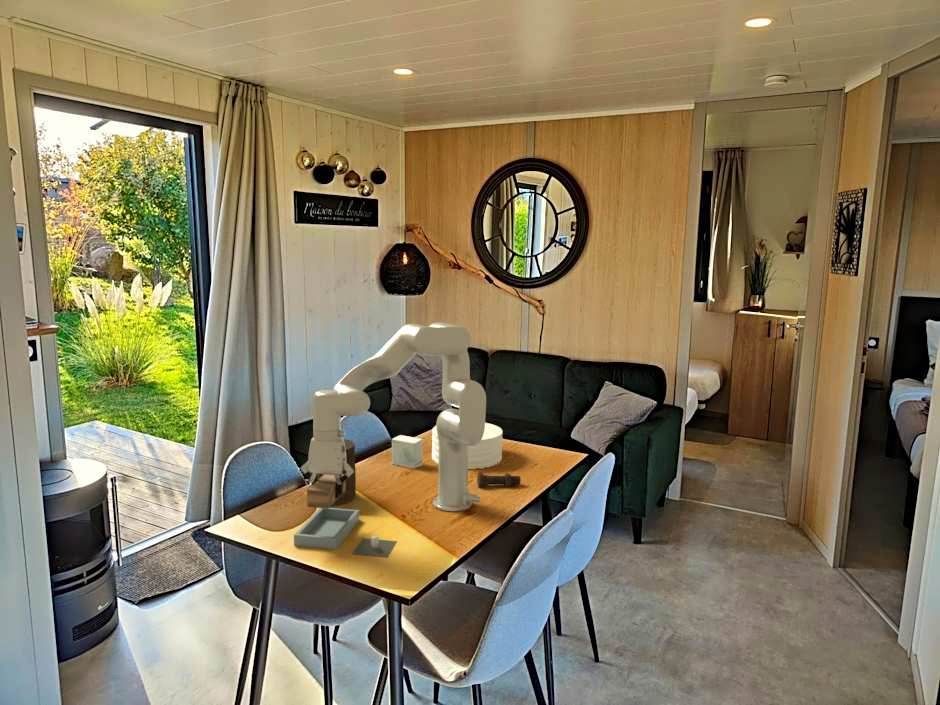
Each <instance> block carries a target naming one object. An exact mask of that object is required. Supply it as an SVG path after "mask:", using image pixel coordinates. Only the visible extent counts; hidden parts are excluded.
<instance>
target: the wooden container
mask: <svg viewBox="0 0 940 705" xmlns="http://www.w3.org/2000/svg"><path fill="white" fill-rule="evenodd" d="M343 439H344V443H345V449H346V460H347V464H348V465H349V466H350V467H351V468H352V469H353V470H354V472H353V473H352V474H351V475H350V476H349V477H348V478H347V479H346V487H345V492H344V493H343V494H342V495H341V496H340V497H339V498H338V499H337V500H336V501H335V502H334V503H333V504H332V505H331V506H338V505H343V503H344V504H346V503H350V502H351V501H353V500H354V499H355V498H356V493H357V490H356V488H357V487H356V482H357V480H356V479H357V477H356V476H357V474H356V455H355V453H356V452H355V451H356V448H355V447H356V445H355V442H354V441H352V440H351V439H347V438H343ZM346 473H347V471H346V470H344V471H342V474H346ZM323 475H324V474H319V475H318V479H320V478H321V477H322V476H323ZM311 486H312V485H311V482H310V481H309V488H310V487H311Z"/></svg>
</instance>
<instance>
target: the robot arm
mask: <svg viewBox="0 0 940 705" xmlns="http://www.w3.org/2000/svg"><path fill="white" fill-rule="evenodd" d="M471 342H472V336H471V334H470V331H468V330H467V328H465V327H464V326H461V325H457V324H452V323H447V322H442V321H441V322H439V321H437V322H433V323H431V324H430V325H429V326H427V325H422V324H418V323H417V324H416V323H408V324H405V325H403V326H402V327H401V328H400V329H399V330H398V331H397V332H395V334H394V335H393V336H391V338H390V339H389V340H388V341H386V343H385V344H384V346H382V347H381V348H380V349H379V351H378V352H376V353H375V354H374V355H373V356H372V357H370V358H367V359H366V360H365V361H363V362H362V363H360V364H358V365H356V366H354V367H353V368H352V369H351V370H349V371H348V372H347V373H346V374H345V375H344V376H343V377H342V378H341V379H340V380H339V381H338V382H337V384H336V385H334V387H333V389H322V390H321V389H320V390H317V391H316V392H315V393H314V394H313V396H312V420H313V421H312V422H313V424H312V428H313V429H312V433H313V434H312V436H313V437H312V438H311V440H310V443H309V444H310V445H309V447H308V448H309V449H308V456H307V457H308V459H307V461H306V462H305V463H304V464H303V465H302V466H300V471H301V472H302V473H303V474H304V475H305V477H307V478H308V479H309V483H310V482H311V485H313V484H314V483H315V482H316V481H318V480H319V479H318V475H319V474H327V475H334V476H335V479H336V482H337V484H336V485H335V497H336V498H339V497H340V495H341V494H342V493H343V482H344V481H345V480H346V479H347V478H348V477H349V476H350V475H351V474H352V473H353V472H354V470H353V469H352V468H351V467H350V466H349V465H348V464H347V460H346V449H345V443H344V439H345V438H343V437H345V436H346V431H343V430H342V426H341V424H342V422H341V418H342V417H359V416H362V415H364V414H365V413H367V412H368V410H369V409H370V406H371V399H370V396H369V395H368V394H367V393H366V392H365V391H364V390H365V389H366V388H367V387H369V386H370V385H372V384H374V383H376V382H379V381H382V380H386V379H390V378H393V377H395V376H397V375H398V374H399V373H400V372H401V371H402V369H403V368H404V367H405V366H406V365H407V364H408V363H409V362H410V361H411V360H412V359H413V358H414V357H415V355H421V356H426V357H427V356H428V357H431V356H434V357H435V356H436V357H437V356H440V357H441V360H442V386H441V398H442V399H443V402H445V403H446V404H447V405H449V406H453V407H455V408H447V409H444V410H443V411H442V412H440V413H439V415H438V416H437V418H436V424H435V426H436V428H437V435H438V442H439V464H438V472H437V473H438V474H437V476H438V478H437V480H438V481H437V489H438V490H437V496H436V497H434V498H433V500H432V504H433V506H434V507H435V509H439V510H440V511H445V512H446V511H447V512H460V511H465V510H468V509H469V508H470V507H471V506H472V504H473V503H472V502H474V503H481V499H482V498H481V496H480V495H479V494H478V493H471V492H470V489H469V488H468V482H469V481H468V476H469V475H468V473H469V469H468V446H474V445H476V444H478V443H479V442H480V441H481V439H482V437H483V434H484V429H485V423H486V413H487V412H486V411H487V409H486V408H487V395H486V391H485V389H484V387H483V386H482V384H480V383H479V382H477V381H476V380H472V379H471V376H470V374H471V372H470V371H471V370H470V368H471V367H470V365H471V364H470V356H469V352H468V348H469V347H470V346H471ZM456 408H457V409H456ZM344 470H346V471H347V473H346V474H345V475H344V476H343V474H342V471H344Z"/></svg>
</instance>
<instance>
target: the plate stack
mask: <svg viewBox="0 0 940 705" xmlns="http://www.w3.org/2000/svg"><path fill="white" fill-rule="evenodd" d="M431 433H432V435H431V440H432V441H431V446H432V447H431V460H432V461H433V460H434V461H435V462H434V461H433V462H434V463H436V464H438V465H439V442H438V435H437V428H436V425H434V427H433V428H432V430H431ZM503 434H504V433H503V429H502V428H501V427H500V426H498V425H495V424H492V423H488V422H485V429H484V434H483V437H482V439H481V441H480V442H479V443H478V444H476V445H474V446H468V470H477V469H476V468H480V469H486V468H485V467H487V468H491V467H494V466H496V465H498V464H500V463H501V462H502V460H503V459H502V458H503V456H502V454H503ZM501 459H502V460H501ZM500 461H501V462H500ZM499 462H500V463H499ZM497 463H498V464H497ZM495 464H496V465H495ZM493 465H494V466H493ZM490 466H491V467H490Z"/></svg>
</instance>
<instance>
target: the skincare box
mask: <svg viewBox="0 0 940 705" xmlns="http://www.w3.org/2000/svg"><path fill="white" fill-rule="evenodd" d="M423 446H424V440H423V438H419V437H413V436H407V435H403V434H400V435H397V436H395V437H393V438H391V465H392V464H394V465H393V466H397V465H399V466H398V467H401V466H404V467H403V468H406V467H408V468H407V469H411V468H413V469H412V470H415V468H416V469H418V468H419V467H422V466H423V456H424V454H423V451H424V450H423ZM417 467H418V468H417Z"/></svg>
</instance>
